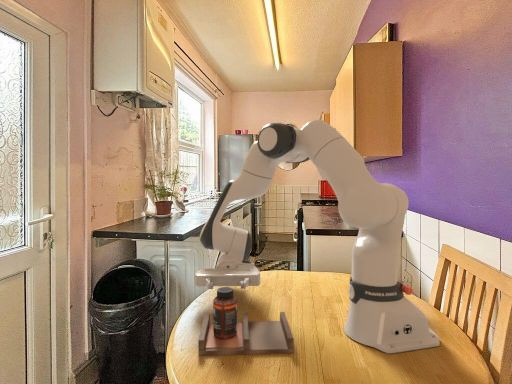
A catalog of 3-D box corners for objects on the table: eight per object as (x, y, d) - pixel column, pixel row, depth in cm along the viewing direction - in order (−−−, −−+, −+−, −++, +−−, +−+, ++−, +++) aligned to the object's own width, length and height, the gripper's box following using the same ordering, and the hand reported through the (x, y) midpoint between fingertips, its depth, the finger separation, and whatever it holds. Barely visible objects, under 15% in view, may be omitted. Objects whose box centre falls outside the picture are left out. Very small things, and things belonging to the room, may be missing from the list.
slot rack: (284, 324, 85) (284, 311, 85) (293, 353, 71) (293, 338, 71) (205, 325, 84) (205, 313, 84) (198, 355, 70) (198, 340, 70)
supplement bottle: (241, 331, 78) (241, 287, 78) (227, 342, 73) (228, 295, 73) (222, 326, 81) (222, 283, 81) (208, 336, 76) (208, 290, 76)
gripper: (196, 262, 102) (190, 275, 88) (258, 262, 103) (261, 275, 89) (196, 281, 102) (190, 297, 88) (258, 280, 103) (261, 296, 90)
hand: (226, 286), depth 89 cm, fingers open, 8 cm apart
